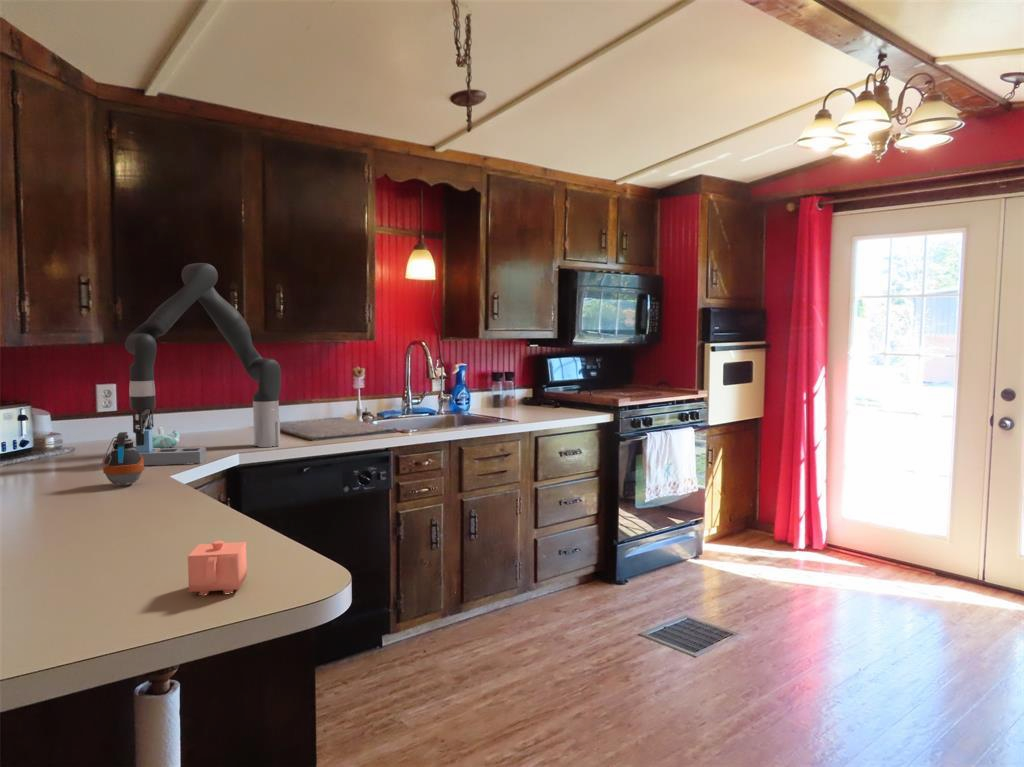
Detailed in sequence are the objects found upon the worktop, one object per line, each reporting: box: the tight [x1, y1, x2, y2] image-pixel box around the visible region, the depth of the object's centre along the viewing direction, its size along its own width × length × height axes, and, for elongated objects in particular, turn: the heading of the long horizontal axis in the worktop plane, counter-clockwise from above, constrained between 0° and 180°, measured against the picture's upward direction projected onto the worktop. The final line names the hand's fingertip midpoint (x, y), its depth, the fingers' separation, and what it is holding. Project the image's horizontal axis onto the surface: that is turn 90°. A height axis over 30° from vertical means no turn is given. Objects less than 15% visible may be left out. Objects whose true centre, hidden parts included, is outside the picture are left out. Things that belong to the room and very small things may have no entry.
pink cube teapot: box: [187, 540, 248, 595], centre depth 120 cm, size 8×12×8 cm, turn 10°
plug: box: [135, 428, 153, 453], centre depth 234 cm, size 4×4×11 cm
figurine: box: [152, 426, 181, 448], centre depth 271 cm, size 13×6×30 cm
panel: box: [134, 446, 207, 466], centre depth 236 cm, size 22×10×4 cm, turn 103°
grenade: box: [101, 431, 145, 487], centre depth 200 cm, size 11×10×15 cm
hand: (144, 443), depth 234 cm, fingers open, 8 cm apart
